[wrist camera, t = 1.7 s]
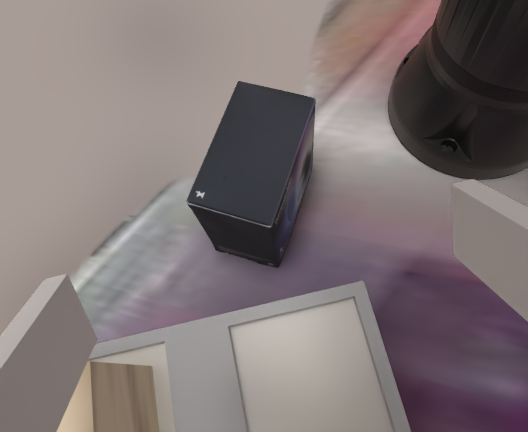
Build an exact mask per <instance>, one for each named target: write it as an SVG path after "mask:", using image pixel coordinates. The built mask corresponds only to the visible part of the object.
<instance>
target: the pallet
mask: <svg viewBox="0 0 528 432" xmlns="http://www.w3.org/2000/svg"><path fill="white" fill-rule="evenodd" d="M89 361H94V362H107V363H120V364H133V365H145V366H152V368H153V378H154V387H155V396H156V406H157V415H158V424H159V432H411V429H410V426H409V423H408V420H407V417H406V414H405V410H404V407H403V404H402V401H401V398H400V395H399V391H398V388H397V385H396V382H395V379H394V375H393V372H392V369H391V366H390V363H389V360H388V356H387V353H386V350H385V347H384V344H383V341H382V337H381V334H380V331H379V328H378V325H377V321H376V318H375V315H374V312H373V309H372V306H371V302H370V299H369V296H368V293H367V290H366V287H365V283H364V280H363V281H359V282H355V283H350V284H346V285H342V286H338V287H333V288H329V289H325V290H321V291H317V292H312V293H308V294H304V295H300V296H295V297H291V298H287V299H283V300H279V301H274V302H270V303H266V304H262V305H257V306H253V307H249V308H245V309H241V310H236V311H232V312H228V313H224V314H219V315H215V316H211V317H207V318H203V319H198V320H194V321H190V322H186V323H181V324H177V325H173V326H169V327H165V328H160V329H156V330H152V331H148V332H143V333H139V334H135V335H131V336H127V337H122V338H118V339H114V340H110V341H105V342H101V343H97V344H95V346H94V348H93V350H92V352H91V355H90V357H89V359H88V361H87V362H89Z"/></svg>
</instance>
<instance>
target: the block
mask: <svg viewBox="0 0 528 432" xmlns="http://www.w3.org/2000/svg"><path fill="white" fill-rule="evenodd" d="M57 432H159V424H158V415H157V406H156V396H155V387H154V378H153V368H152V366H145V365H133V364H120V363H107V362H94V361H89V362H87V364H86V366H85V368H84V371H83V373H82V375H81V377H80V380H79V382H78V384H77V386H76V389H75V391H74V393H73V396H72V398H71V400H70V402H69V405H68V407H67V409H66V412H65V414H64V416H63V418H62V421H61V423H60V425H59V427H58V430H57Z"/></svg>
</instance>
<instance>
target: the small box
mask: <svg viewBox="0 0 528 432" xmlns="http://www.w3.org/2000/svg"><path fill="white" fill-rule="evenodd" d="M315 102H316V100H315V99H314V98H311V97H308V96H304V95H299V94H295V93H290V92H285V91H282V90H277V89H272V88H268V87H264V86H259V85H255V84H250V83H245V82H241V81H239V82H238V83H237V85H236V87H235V90H234V92H233V94H232V96H231V99H230V101H229V104H228V105H227V108H226V110H225V113H224V115H223V117H222V119H221V122H220V124H219V126H218V129H217V131H216V133H215V135H214V138H213V140H212V142H211V145H210V147H209V149H208V152H207V154H206V156H205V159H204V161H203V164H202V166H201V168H200V170H199V172H198V175H197V177H196V180H195V182H194V184H193V187H192V189H191V191H190V194H189V196H188V198H187V200H186V202H187V204H188V206H189V207H190V208H191V209H192V211H193V212H194V214H195V216H196V217H197V219H198V220H199V222H200V224H201V225H202V227H203V228H204V230H205V231H206V233H207V235H208V236H209V238H210V240H211V241H212V243H213V245H214V247H215V250H218V251H221V252H227V253H229V254H233V255H237V256H240V257H243V258H247V259H248V260H253V261H256V262H257V263H260V264H264V265H268V266H273V267H279V265H280V263H281V260H282V257H283V254H284V251H285V248H286V245H287V242H288V239H289V236H290V233H291V230H292V227H293V224H294V221H295V218H296V215H297V212H298V210H299V206H300V203H301V200H302V197H303V194H304V191H305V188H306V185H307V182H308V179H309V176H310V173H311V170H312V162H313V138H314V119H315Z"/></svg>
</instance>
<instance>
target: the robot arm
mask: <svg viewBox="0 0 528 432" xmlns="http://www.w3.org/2000/svg"><path fill="white" fill-rule="evenodd" d="M388 112H389V117H390V121H391V124H392V127H393V129H394V131H395V133H396V135H397V136H398V138H399V139H400V141H401V142H402V143H403V145H404V146H405V147H406V148H407V149H408V150H409V151H410V152H411V153H412V154H413V155H414V156H415V157H417V158H418V159H419V160H421V161H422V162H424V163H425V164H427V165H429V166H431V167H433V168H435V169H437V170H439V171H442V172H444V173H447V174H450V175H454V176H458V177H463V178H470V180H465V181H461V182H457V183H453V184H451V207H452V231H453V255H454V256H455V257H456V258H457V259H458V260H459V261H460V262H461V263H463V264H464V265H465V266H466V267H467V268H468V269H469V270H470V271H472V272H473V273H474V274H475V275H476V276H477V277H478V278H479V279H480V280H482V281H483V282H484V283H485V284H486V285H487V286H488V287H489V288H491V289H492V290H493V291H494V292H495V293H496V294H497V295H498V296H499V297H501V298H502V299H503V300H504V301H505V302H506V303H507V304H508V305H510V306H511V307H512V308H513V309H514V310H515V311H516V312H517V313H518V314H520V315H521V316H522V317H523V318H524V319H525V320H526V321H527V322H528V207H527V206H525V205H523V204H521V203H519V202H517V201H515V200H513V199H511V198H509V197H507V196H505V195H503V194H501V193H499V192H498V191H496V190H494V189H492V188H490V187H488V186H486V185H484V184H482V183H480V182H478V181H476V180H474V179H492V178H499V177H504V176H507V175H511V174H514V173H516V172H519V171H521V170H523V169H525V168H527V167H528V0H442V1H441V4H440V7H439V9H438V12H437V15H436V18H435V21H434V23H433V25H432V26H431V27H430V29H429V30H428V31H427V32H426V33H425V35H424V36H423V37H422V38H421V40H420V41H419V44H418V45H416V46H415V47H414V48H413V49H412V50H411V51H410V52H409V53H408V54H407V55H406V57H405V58H404V59H403V61H402V62H401V64H400V65H399V67H398V69H397V71H396V74H395V76H394V80H393V83H392V86H391V90H390V93H389V99H388ZM96 341H97V337H96V335H95V333H94V330H93V328H92V326H91V324H90V322H89V320H88V317H87V315H86V313H85V311H84V309H83V307H82V304H81V302H80V300H79V298H78V296H77V294H76V291H75V289H74V287H73V285H72V283H71V281H70V278H69V276H68V274H64V275H60V276H56V277H51V278H47V279H45V280H44V281H43V282H42V283H41V285H40V286H39V287H38V289H37V290H36V291H35V292H34V294H33V295H32V296H31V297H30V299H29V300H28V301H27V303H26V304H25V305H24V306H23V308H22V309H21V310H20V311H19V313H18V314H17V315H16V317H15V318H14V319H13V320H12V322H11V323H10V324H9V325H8V327H7V328H6V329H5V331H4V332H3V333H2V334H1V336H0V432H57V430H58V427H59V425H60V423H61V421H62V418H63V416H64V414H65V412H66V409H67V407H68V405H69V402H70V400H71V398H72V396H73V393H74V391H75V389H76V386H77V384H78V382H79V380H80V377H81V375H82V373H83V371H84V368H85V366H86V364H87V361H88V359H89V357H90V355H91V352H92V350H93V348H94V346H95V343H96Z"/></svg>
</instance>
